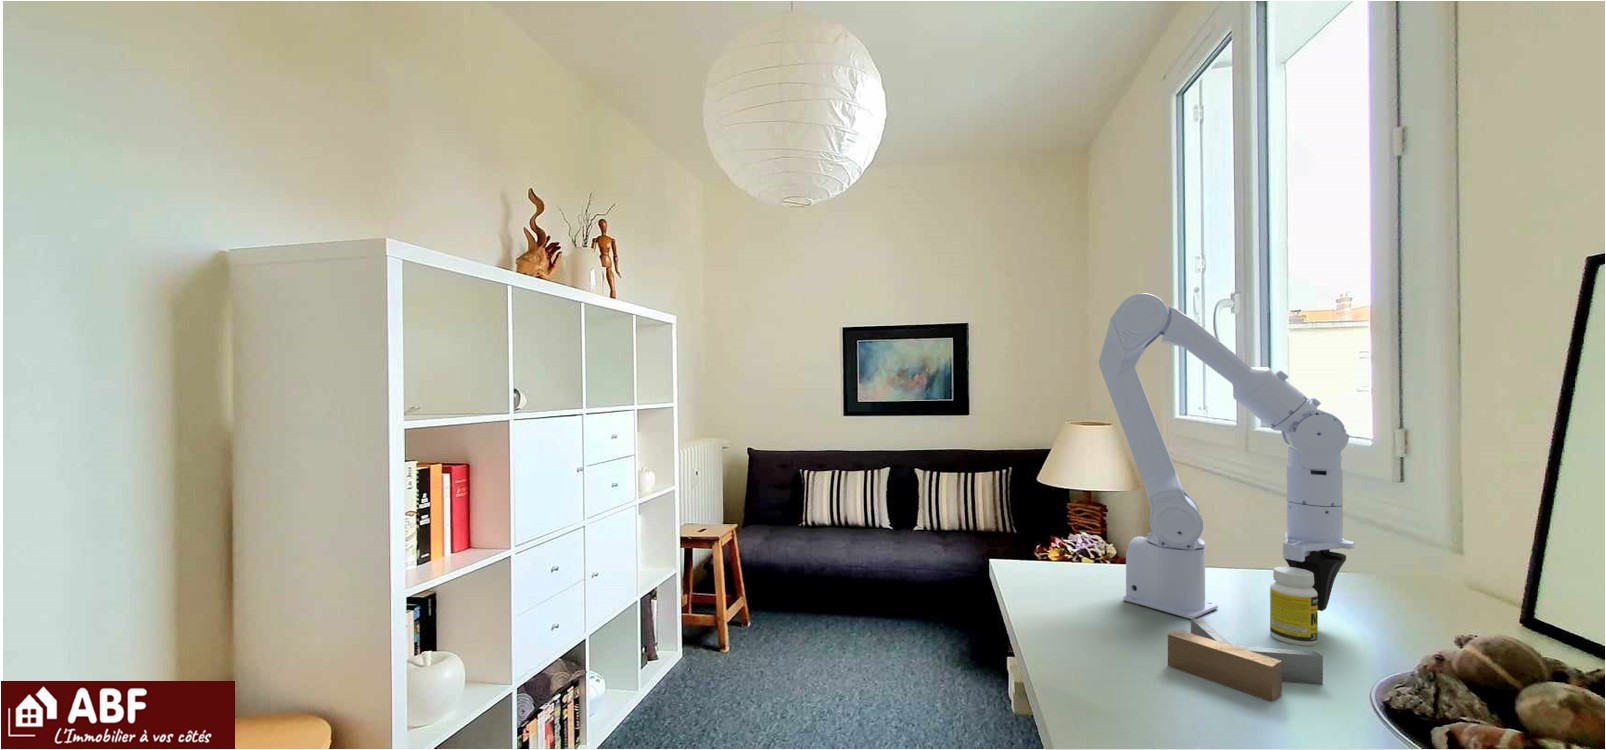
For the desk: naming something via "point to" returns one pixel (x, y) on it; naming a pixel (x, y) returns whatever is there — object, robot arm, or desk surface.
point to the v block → (1241, 662)
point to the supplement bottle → (1294, 606)
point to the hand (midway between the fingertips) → (1314, 608)
